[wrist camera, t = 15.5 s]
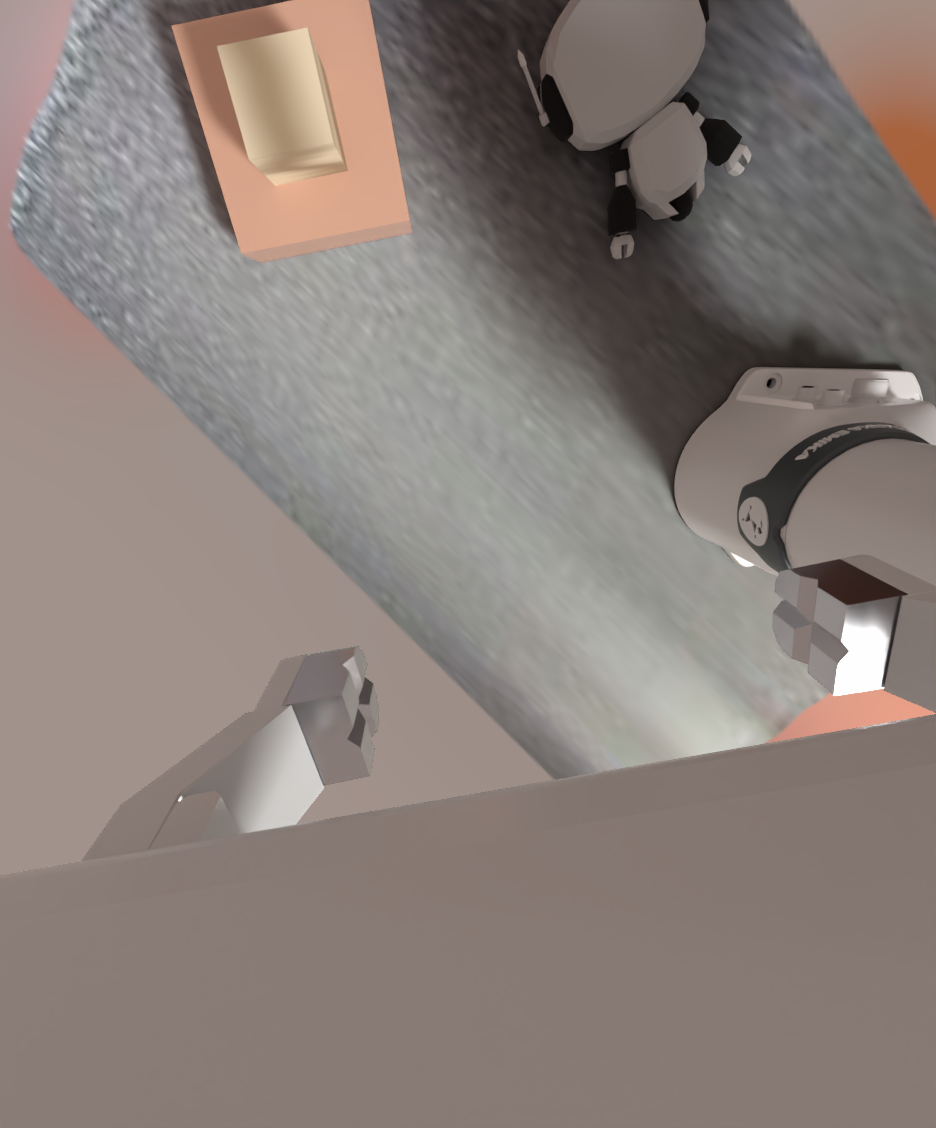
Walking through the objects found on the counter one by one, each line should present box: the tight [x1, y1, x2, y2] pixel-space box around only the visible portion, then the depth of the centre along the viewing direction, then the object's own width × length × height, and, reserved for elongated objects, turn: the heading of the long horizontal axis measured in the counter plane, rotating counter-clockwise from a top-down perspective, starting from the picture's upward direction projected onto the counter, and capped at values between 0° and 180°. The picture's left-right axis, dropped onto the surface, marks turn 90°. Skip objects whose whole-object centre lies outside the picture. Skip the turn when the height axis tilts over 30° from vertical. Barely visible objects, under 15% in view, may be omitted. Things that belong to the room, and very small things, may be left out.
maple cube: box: [217, 28, 348, 186], centre depth 30 cm, size 5×5×5 cm
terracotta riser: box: [171, 0, 413, 263], centre depth 34 cm, size 12×12×4 cm
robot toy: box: [518, 0, 751, 259], centre depth 35 cm, size 12×4×15 cm
